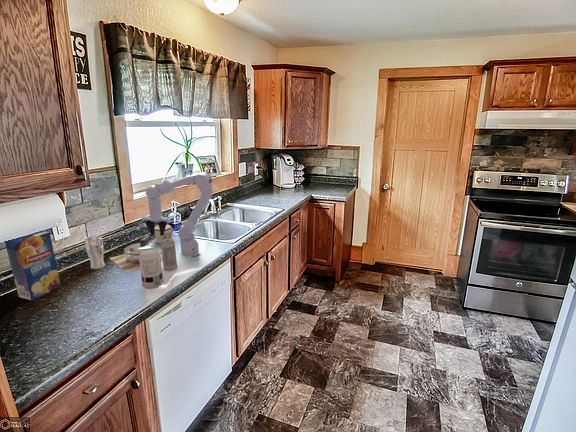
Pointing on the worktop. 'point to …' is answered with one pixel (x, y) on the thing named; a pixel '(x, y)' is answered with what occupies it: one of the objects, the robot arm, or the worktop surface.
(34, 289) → the juice carton
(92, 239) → the beer glass
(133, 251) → the cooker lid
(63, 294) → the worktop surface
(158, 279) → the supplement can
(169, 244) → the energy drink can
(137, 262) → the cream flat block
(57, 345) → the worktop surface
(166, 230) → the teacup with lid
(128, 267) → the trivet board
